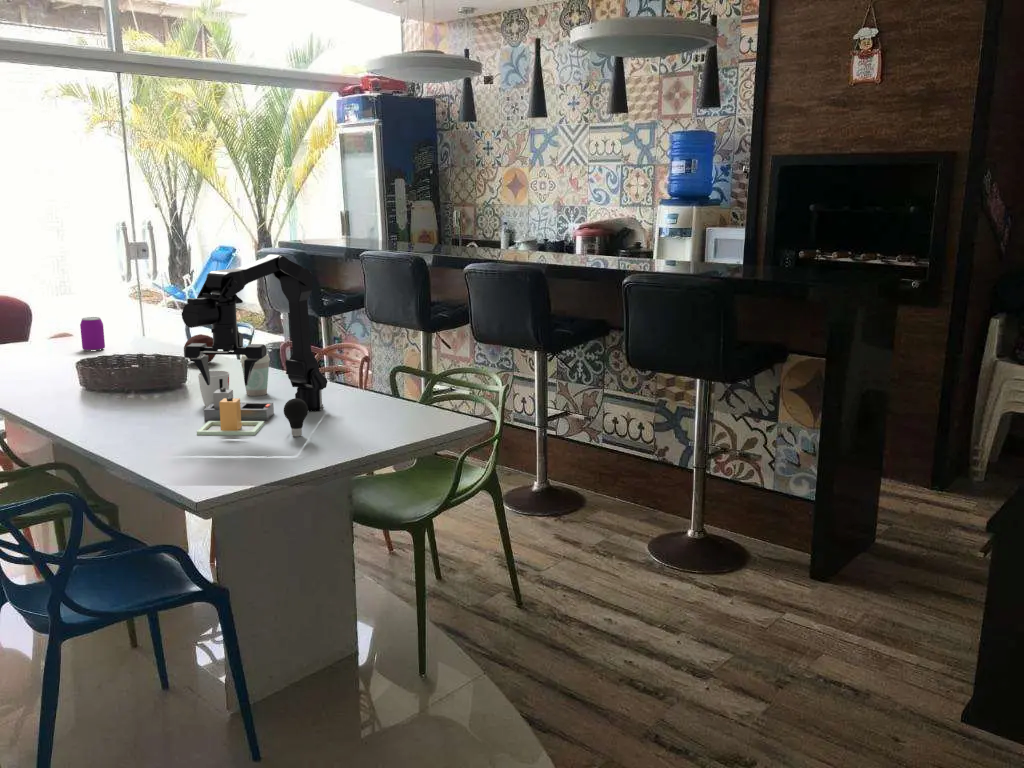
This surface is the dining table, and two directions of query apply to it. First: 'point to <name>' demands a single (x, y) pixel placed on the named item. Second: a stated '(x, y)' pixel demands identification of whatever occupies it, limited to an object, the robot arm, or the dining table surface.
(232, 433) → the tray
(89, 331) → the beverage can
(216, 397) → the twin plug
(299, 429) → the light bulb
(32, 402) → the dining table surface
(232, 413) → the plug
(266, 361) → the coffee cup
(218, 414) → the strip
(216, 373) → the cup
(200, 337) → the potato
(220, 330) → the robot arm
